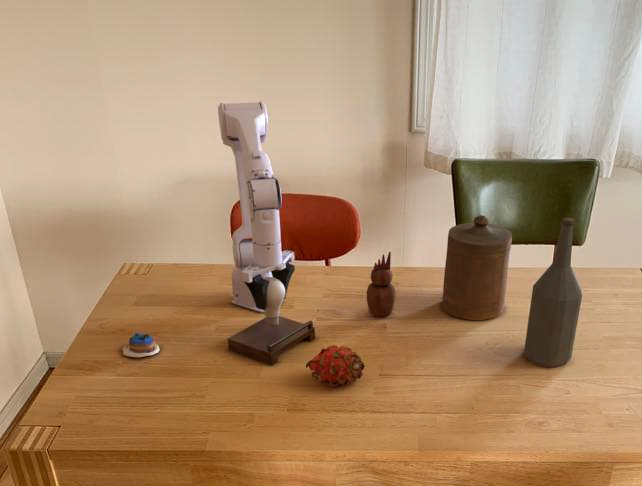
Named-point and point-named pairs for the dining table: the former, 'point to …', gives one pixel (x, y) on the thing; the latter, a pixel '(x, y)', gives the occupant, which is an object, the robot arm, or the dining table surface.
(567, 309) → the bottle
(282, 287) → the lightbulb
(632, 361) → the dining table surface
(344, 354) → the dragon fruit
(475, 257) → the wooden container
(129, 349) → the dessert
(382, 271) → the wooden figurine
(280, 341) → the shelf
